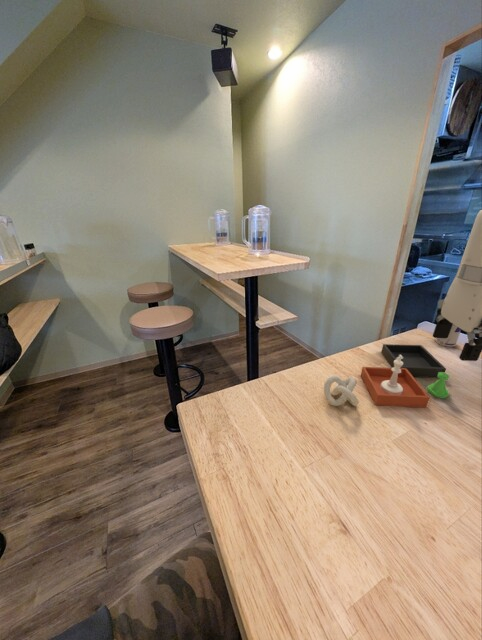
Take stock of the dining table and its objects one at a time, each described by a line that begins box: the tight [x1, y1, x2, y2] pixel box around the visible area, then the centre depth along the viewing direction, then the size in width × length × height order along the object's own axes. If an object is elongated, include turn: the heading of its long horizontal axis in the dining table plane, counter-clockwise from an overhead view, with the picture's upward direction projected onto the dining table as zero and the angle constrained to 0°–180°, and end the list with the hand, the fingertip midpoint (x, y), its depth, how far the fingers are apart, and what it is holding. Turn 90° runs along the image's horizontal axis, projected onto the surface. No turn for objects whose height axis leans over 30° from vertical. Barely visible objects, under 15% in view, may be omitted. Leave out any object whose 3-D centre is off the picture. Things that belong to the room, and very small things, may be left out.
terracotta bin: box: [360, 366, 431, 408], centre depth 63 cm, size 11×11×3 cm
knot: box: [323, 375, 360, 407], centre depth 60 cm, size 8×8×6 cm
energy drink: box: [435, 322, 462, 348], centre depth 81 cm, size 5×5×12 cm
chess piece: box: [380, 355, 403, 395], centre depth 61 cm, size 5×5×10 cm
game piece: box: [427, 371, 450, 399], centre depth 61 cm, size 4×4×6 cm
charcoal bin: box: [380, 343, 447, 379], centre depth 73 cm, size 11×12×3 cm
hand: (452, 347), depth 57 cm, fingers open, 9 cm apart
